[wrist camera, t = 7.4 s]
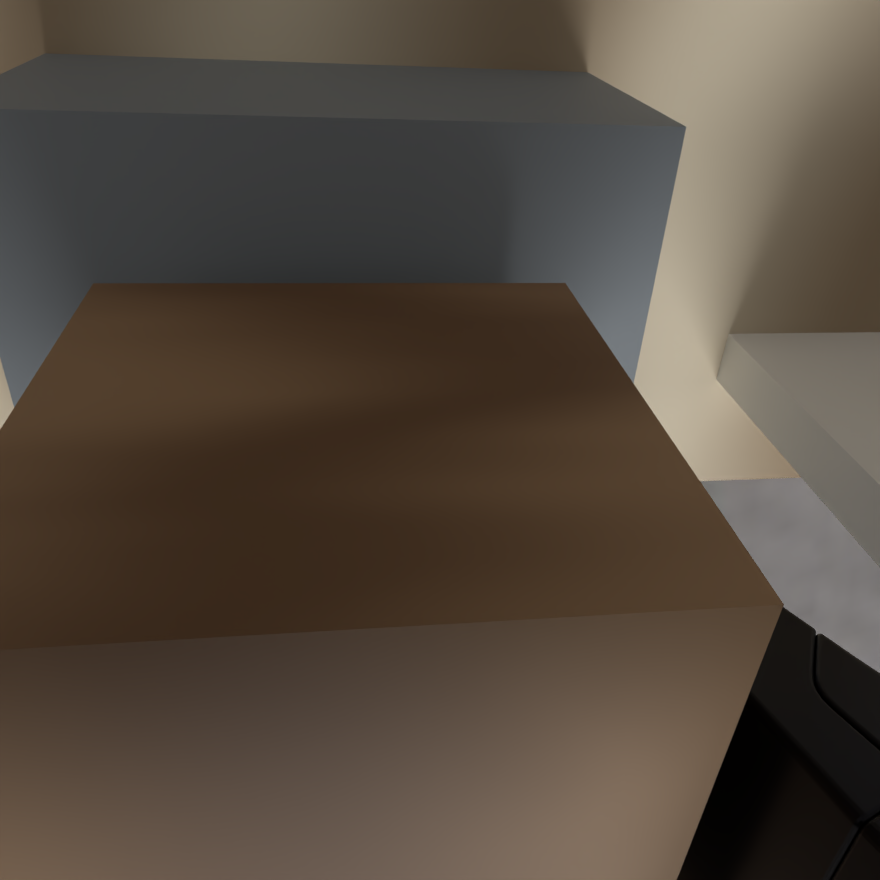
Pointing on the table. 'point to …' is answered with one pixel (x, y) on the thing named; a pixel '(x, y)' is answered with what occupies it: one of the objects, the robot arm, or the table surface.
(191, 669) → the walnut cube
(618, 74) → the birch board
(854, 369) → the plaque
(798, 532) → the table surface
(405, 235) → the slate block
